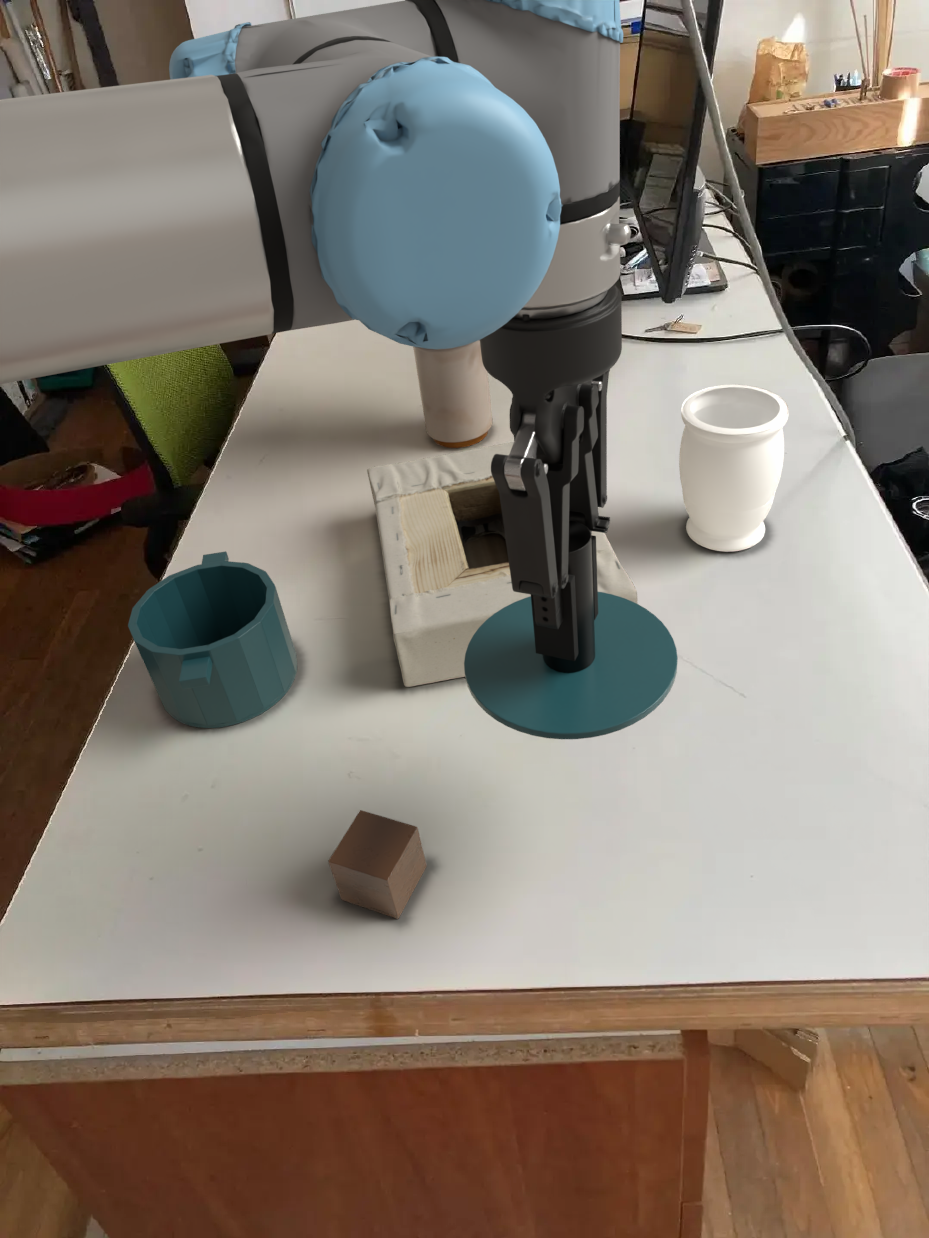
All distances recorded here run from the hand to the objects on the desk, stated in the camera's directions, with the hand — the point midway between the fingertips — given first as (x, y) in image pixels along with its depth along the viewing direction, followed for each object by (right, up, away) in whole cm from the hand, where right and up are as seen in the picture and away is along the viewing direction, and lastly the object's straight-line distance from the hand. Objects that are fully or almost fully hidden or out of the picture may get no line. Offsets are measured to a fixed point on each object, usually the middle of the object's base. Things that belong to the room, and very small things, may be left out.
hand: (567, 632), depth 63 cm
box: (-4, +6, +39) cm, 39 cm away
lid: (0, -2, +2) cm, 3 cm away
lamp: (-7, +26, +63) cm, 69 cm away
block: (-13, -20, +10) cm, 25 cm away
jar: (+22, +10, +40) cm, 46 cm away
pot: (-30, -5, +30) cm, 43 cm away
